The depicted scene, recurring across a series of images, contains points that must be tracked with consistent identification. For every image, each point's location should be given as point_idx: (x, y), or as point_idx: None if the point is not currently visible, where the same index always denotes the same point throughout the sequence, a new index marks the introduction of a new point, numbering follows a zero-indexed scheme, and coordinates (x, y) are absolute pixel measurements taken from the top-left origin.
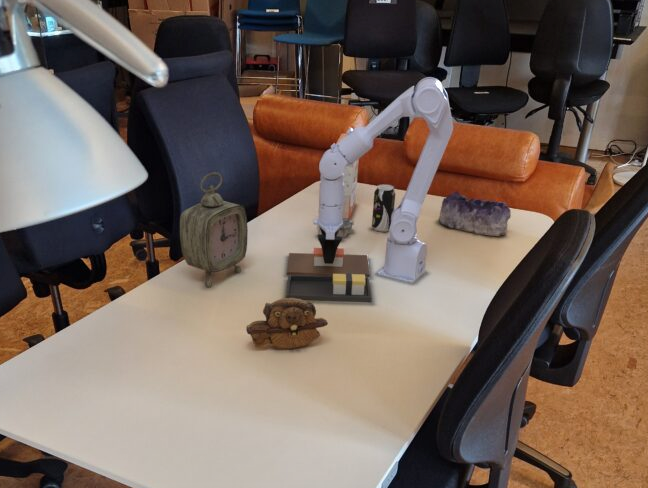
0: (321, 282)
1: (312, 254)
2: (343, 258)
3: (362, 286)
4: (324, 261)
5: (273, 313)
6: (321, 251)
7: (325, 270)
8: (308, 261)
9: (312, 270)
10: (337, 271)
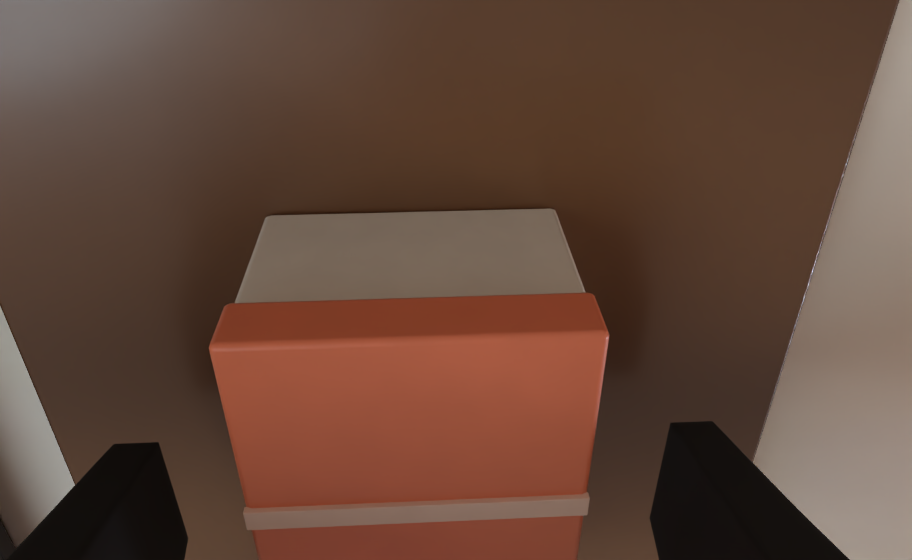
0: None
1: (800, 168)
2: (595, 542)
3: None
4: (91, 470)
5: None
6: (381, 476)
7: (126, 379)
8: (465, 108)
9: (48, 196)
10: None
